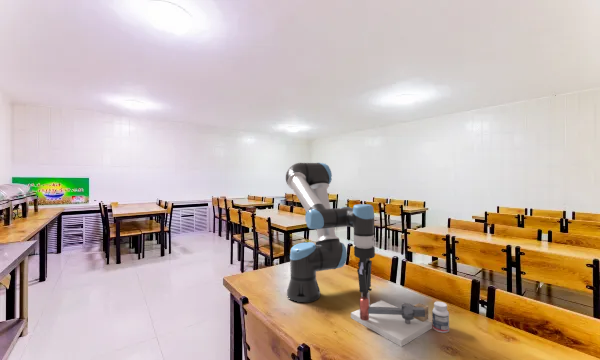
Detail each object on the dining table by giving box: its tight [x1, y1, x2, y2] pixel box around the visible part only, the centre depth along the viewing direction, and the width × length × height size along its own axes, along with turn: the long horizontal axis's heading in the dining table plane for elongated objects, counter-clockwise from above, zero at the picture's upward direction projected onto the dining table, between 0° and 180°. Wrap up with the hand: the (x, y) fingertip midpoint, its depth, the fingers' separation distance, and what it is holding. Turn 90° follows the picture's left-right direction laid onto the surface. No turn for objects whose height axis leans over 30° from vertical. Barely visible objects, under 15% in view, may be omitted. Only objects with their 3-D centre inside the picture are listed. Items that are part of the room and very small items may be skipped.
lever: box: [359, 296, 425, 321], centre depth 97 cm, size 22×4×7 cm, turn 84°
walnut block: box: [413, 302, 429, 322], centre depth 99 cm, size 4×4×4 cm
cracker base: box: [350, 299, 433, 347], centre depth 100 cm, size 22×18×4 cm
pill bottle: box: [431, 301, 450, 334], centre depth 96 cm, size 5×5×9 cm
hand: (365, 308), depth 102 cm, fingers closed
